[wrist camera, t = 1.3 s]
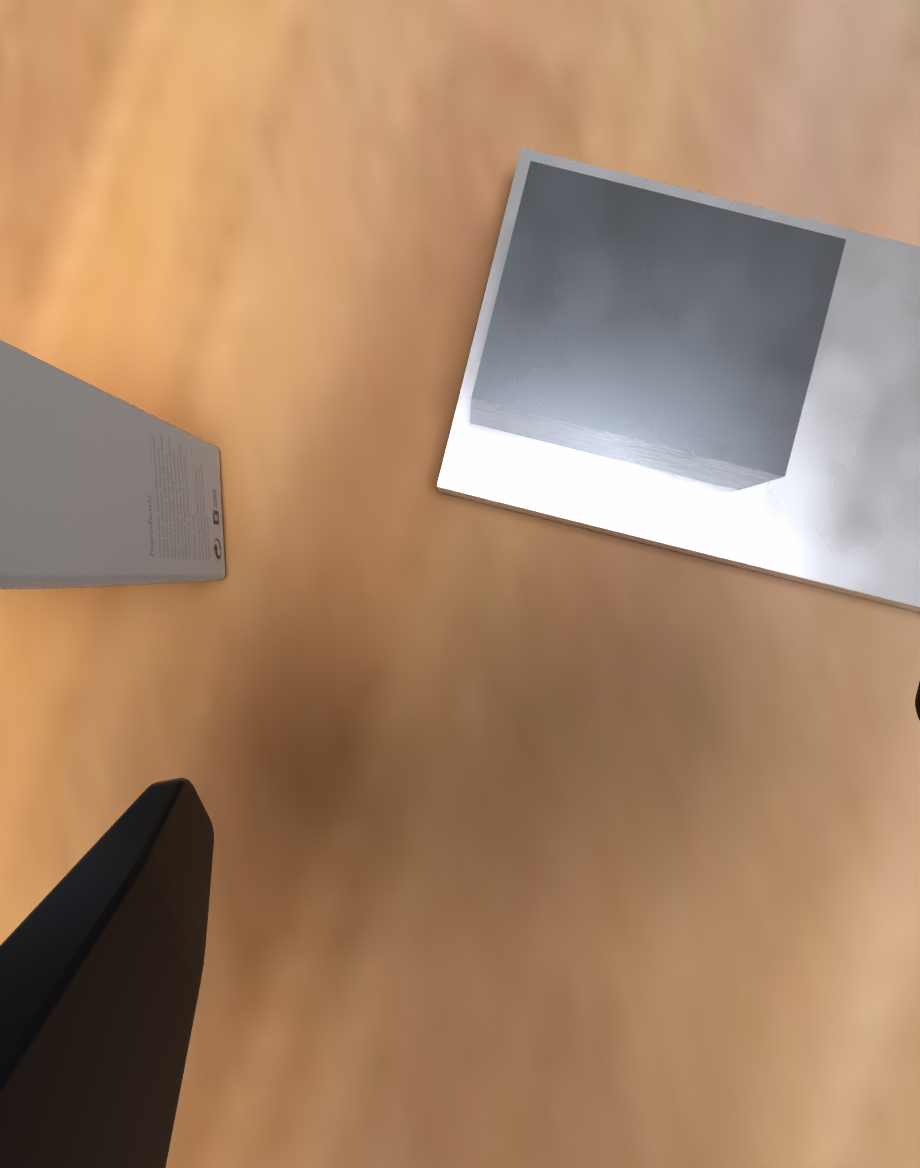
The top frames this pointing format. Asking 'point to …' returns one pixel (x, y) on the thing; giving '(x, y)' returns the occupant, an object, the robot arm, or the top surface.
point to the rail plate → (827, 459)
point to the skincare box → (99, 487)
